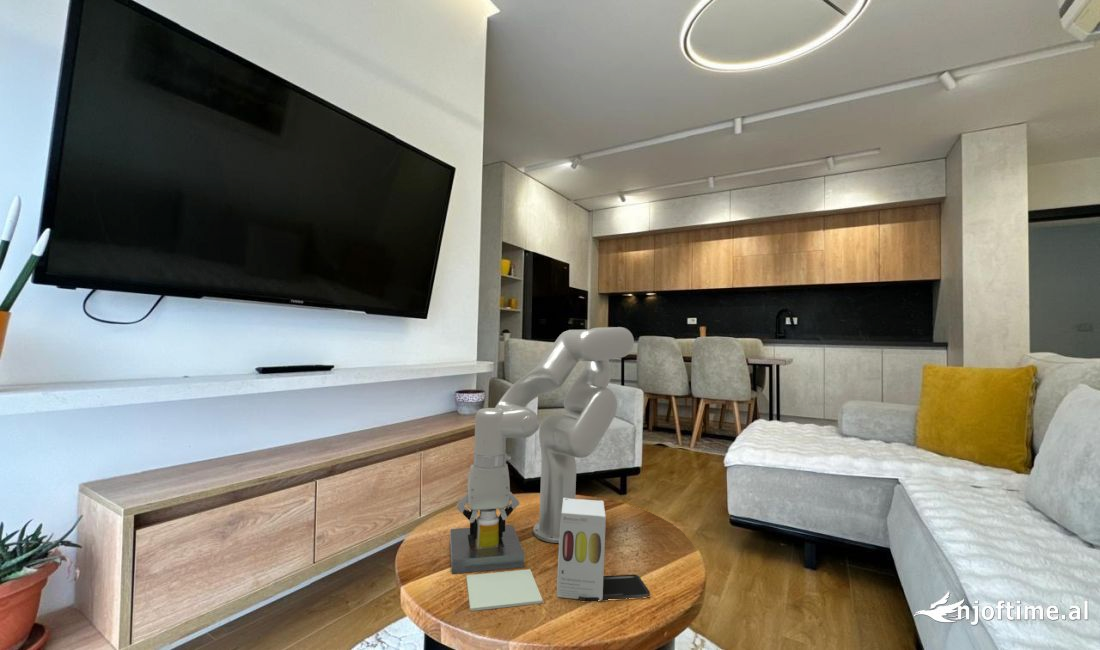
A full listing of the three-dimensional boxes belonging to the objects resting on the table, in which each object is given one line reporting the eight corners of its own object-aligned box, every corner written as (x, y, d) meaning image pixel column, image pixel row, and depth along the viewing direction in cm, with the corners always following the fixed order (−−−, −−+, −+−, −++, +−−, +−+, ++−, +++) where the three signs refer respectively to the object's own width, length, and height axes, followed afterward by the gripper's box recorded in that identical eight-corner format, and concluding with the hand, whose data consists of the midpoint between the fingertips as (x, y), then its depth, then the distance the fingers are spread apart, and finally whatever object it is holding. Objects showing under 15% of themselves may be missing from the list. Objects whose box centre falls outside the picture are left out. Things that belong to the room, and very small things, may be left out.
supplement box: (556, 598, 86) (559, 512, 87) (558, 574, 95) (561, 496, 96) (604, 602, 86) (606, 515, 86) (601, 577, 95) (604, 499, 96)
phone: (571, 577, 93) (637, 574, 95) (571, 582, 93) (637, 579, 95) (579, 599, 85) (651, 594, 87) (579, 604, 85) (651, 600, 87)
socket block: (512, 536, 113) (512, 524, 113) (524, 567, 98) (524, 553, 98) (449, 541, 109) (450, 529, 109) (451, 574, 94) (452, 559, 94)
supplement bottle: (502, 553, 103) (504, 510, 104) (482, 560, 100) (484, 515, 100) (490, 544, 108) (491, 503, 108) (470, 551, 104) (472, 508, 105)
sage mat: (530, 571, 96) (530, 569, 96) (542, 603, 84) (542, 600, 84) (466, 577, 93) (466, 575, 93) (470, 611, 81) (470, 608, 81)
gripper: (521, 454, 110) (519, 526, 110) (452, 457, 106) (450, 532, 105) (527, 462, 103) (525, 539, 102) (453, 466, 99) (451, 546, 98)
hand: (487, 535), depth 104 cm, fingers closed on supplement bottle, 5 cm apart
